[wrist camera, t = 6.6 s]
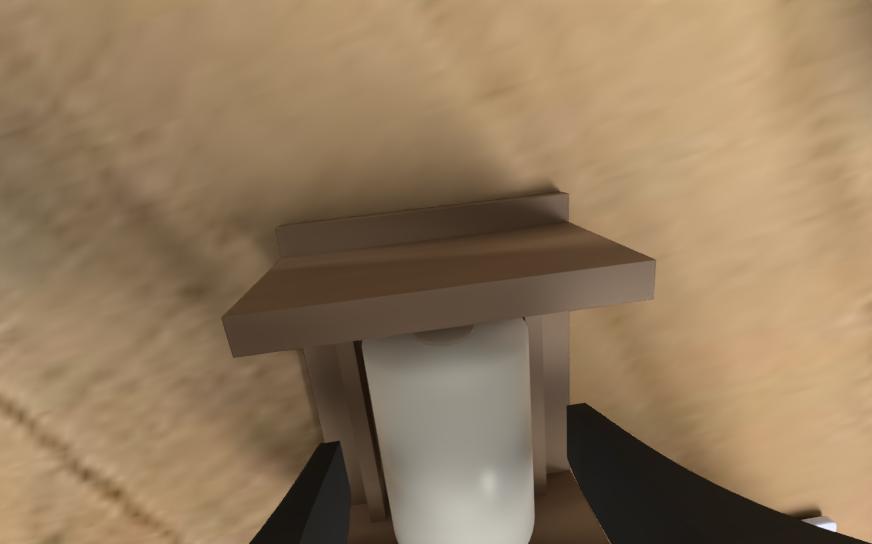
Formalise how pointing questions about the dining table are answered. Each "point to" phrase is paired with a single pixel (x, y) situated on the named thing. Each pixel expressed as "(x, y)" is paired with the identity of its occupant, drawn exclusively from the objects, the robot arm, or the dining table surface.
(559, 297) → the holder
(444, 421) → the roll
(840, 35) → the dining table surface
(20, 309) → the dining table surface
